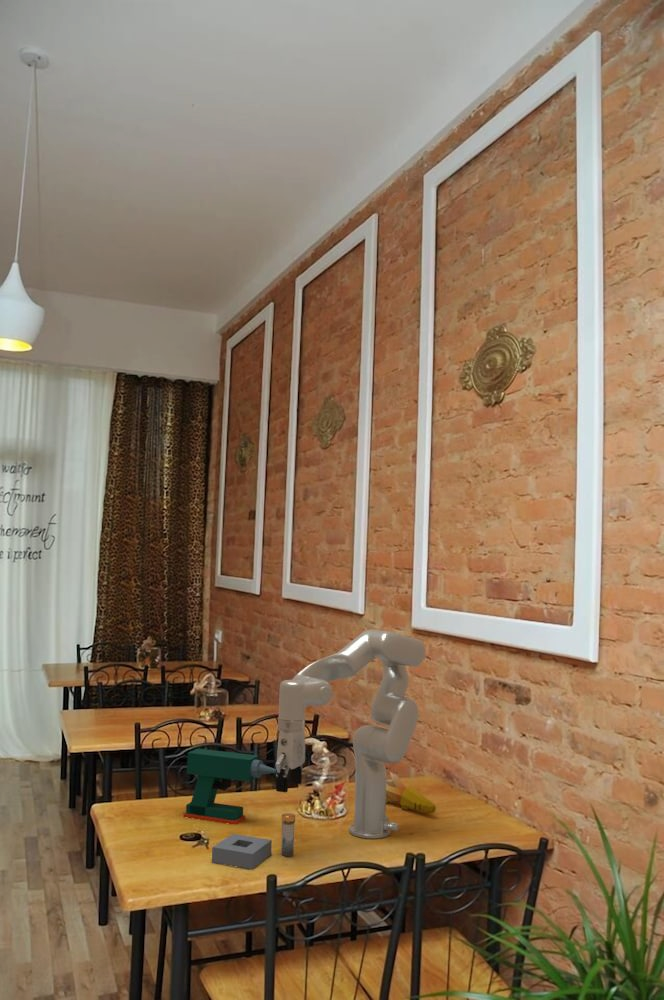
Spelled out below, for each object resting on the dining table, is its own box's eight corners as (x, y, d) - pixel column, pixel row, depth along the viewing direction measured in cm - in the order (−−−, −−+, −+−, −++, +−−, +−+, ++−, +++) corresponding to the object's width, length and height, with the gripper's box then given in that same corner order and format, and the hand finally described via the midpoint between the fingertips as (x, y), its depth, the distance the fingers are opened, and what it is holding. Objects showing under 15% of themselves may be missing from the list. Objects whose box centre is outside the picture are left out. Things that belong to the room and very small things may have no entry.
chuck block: (271, 854, 221) (271, 839, 221) (252, 869, 210) (252, 853, 210) (232, 848, 225) (233, 833, 226) (211, 862, 214) (212, 847, 214)
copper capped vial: (296, 853, 223) (297, 814, 223) (290, 858, 219) (292, 818, 220) (283, 851, 224) (285, 812, 225) (278, 855, 220) (279, 816, 221)
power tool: (285, 824, 248) (287, 758, 249) (276, 831, 241) (278, 763, 243) (194, 811, 258) (196, 747, 260) (183, 817, 252) (186, 752, 253)
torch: (430, 830, 257) (379, 801, 277) (446, 815, 261) (394, 787, 281) (424, 810, 255) (372, 782, 274) (440, 795, 259) (389, 768, 278)
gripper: (291, 731, 215) (288, 797, 214) (315, 721, 231) (313, 781, 230) (266, 728, 218) (263, 793, 216) (291, 718, 234) (289, 778, 232)
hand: (289, 787), depth 223 cm, fingers open, 9 cm apart
